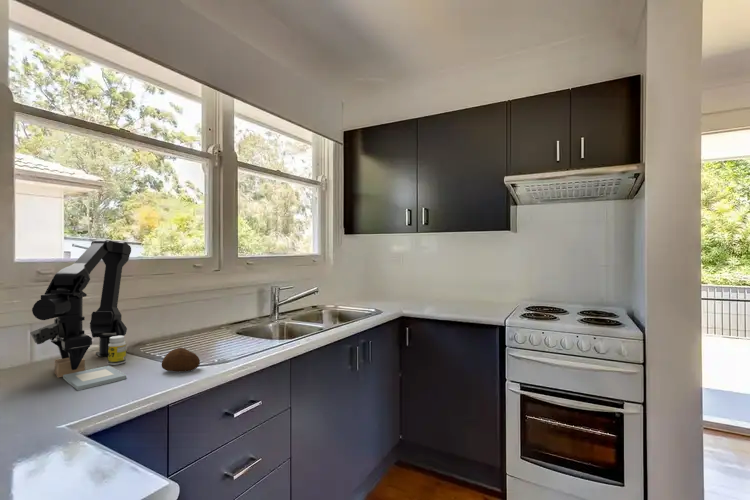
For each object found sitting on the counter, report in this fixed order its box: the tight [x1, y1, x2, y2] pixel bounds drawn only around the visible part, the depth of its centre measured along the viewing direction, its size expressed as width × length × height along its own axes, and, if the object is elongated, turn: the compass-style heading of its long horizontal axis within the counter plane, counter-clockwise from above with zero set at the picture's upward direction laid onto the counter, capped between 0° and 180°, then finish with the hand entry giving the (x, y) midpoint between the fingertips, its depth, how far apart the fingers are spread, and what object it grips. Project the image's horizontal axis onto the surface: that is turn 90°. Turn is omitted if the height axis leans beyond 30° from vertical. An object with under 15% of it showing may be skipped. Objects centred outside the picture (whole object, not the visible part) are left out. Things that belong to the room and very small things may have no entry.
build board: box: [62, 365, 127, 391], centre depth 104 cm, size 14×11×1 cm
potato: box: [161, 347, 201, 373], centre depth 111 cm, size 7×10×7 cm
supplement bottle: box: [107, 335, 127, 366], centre depth 118 cm, size 5×5×8 cm
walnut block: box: [53, 357, 86, 378], centre depth 109 cm, size 6×6×4 cm
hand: (69, 366), depth 109 cm, fingers open, 9 cm apart
